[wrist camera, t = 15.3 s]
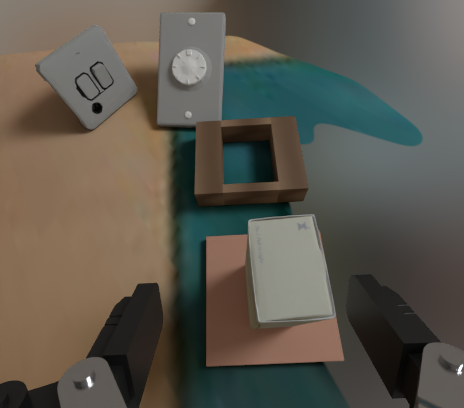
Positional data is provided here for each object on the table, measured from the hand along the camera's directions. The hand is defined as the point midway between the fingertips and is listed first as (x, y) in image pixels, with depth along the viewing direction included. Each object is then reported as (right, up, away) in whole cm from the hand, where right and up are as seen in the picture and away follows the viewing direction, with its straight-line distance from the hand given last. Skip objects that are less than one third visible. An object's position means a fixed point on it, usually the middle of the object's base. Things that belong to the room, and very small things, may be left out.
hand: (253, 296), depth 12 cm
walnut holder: (+1, +8, +23) cm, 24 cm away
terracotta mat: (+3, -5, +16) cm, 17 cm away
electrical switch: (-19, +18, +29) cm, 39 cm away
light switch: (-6, +20, +29) cm, 35 cm away
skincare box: (+3, -5, +15) cm, 16 cm away
